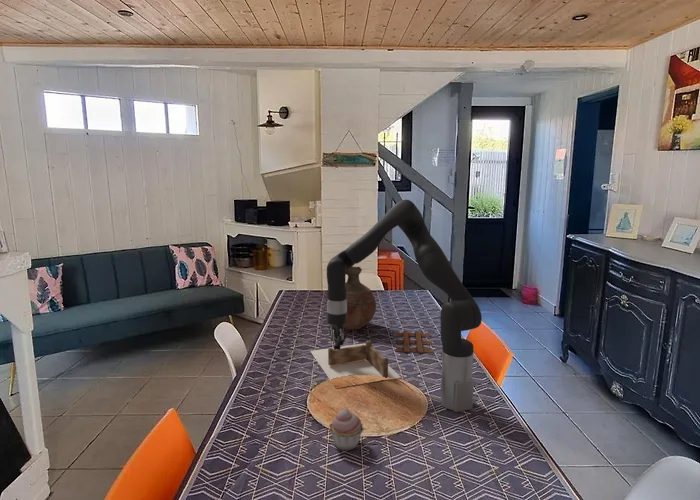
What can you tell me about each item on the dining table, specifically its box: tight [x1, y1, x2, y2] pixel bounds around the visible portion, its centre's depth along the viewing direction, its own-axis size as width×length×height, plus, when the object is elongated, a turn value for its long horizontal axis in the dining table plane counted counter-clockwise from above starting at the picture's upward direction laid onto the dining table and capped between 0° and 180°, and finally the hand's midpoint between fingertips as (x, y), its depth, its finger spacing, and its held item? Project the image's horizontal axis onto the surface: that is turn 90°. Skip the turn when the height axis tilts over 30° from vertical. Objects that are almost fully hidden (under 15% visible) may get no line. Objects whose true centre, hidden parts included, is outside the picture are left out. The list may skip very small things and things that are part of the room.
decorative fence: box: [395, 330, 435, 354], centre depth 191 cm, size 23×2×15 cm
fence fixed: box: [365, 340, 389, 378], centre depth 165 cm, size 18×2×8 cm, turn 20°
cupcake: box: [328, 407, 365, 451], centre depth 119 cm, size 9×9×10 cm
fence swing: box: [327, 345, 366, 365], centre depth 169 cm, size 15×2×6 cm, turn 113°
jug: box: [343, 265, 377, 330], centre depth 207 cm, size 22×22×30 cm
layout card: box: [310, 342, 402, 381], centre depth 170 cm, size 34×24×1 cm
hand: (336, 354), depth 171 cm, fingers closed
